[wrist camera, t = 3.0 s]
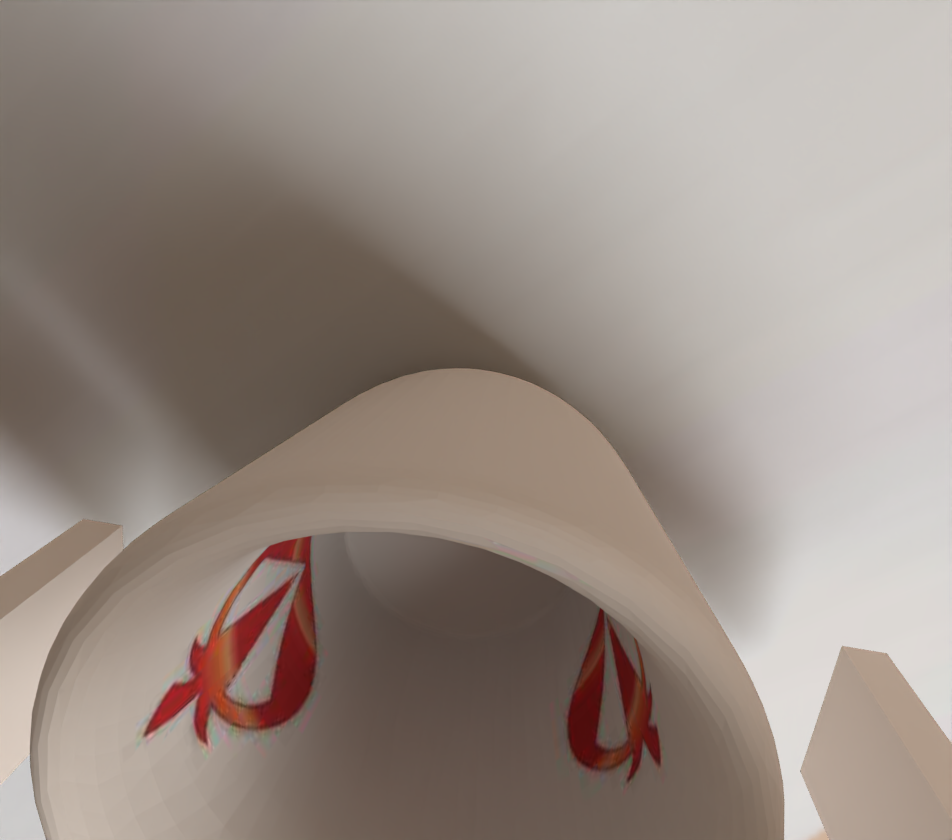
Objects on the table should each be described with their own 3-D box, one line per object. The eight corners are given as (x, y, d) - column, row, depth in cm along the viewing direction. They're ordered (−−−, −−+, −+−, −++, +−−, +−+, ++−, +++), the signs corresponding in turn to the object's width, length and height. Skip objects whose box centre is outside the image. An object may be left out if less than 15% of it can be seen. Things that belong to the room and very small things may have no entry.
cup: (614, 794, 17) (669, 1290, 9) (281, 747, 17) (75, 1182, 10) (698, 340, 13) (893, 542, 6) (281, 298, 14) (-36, 434, 6)
